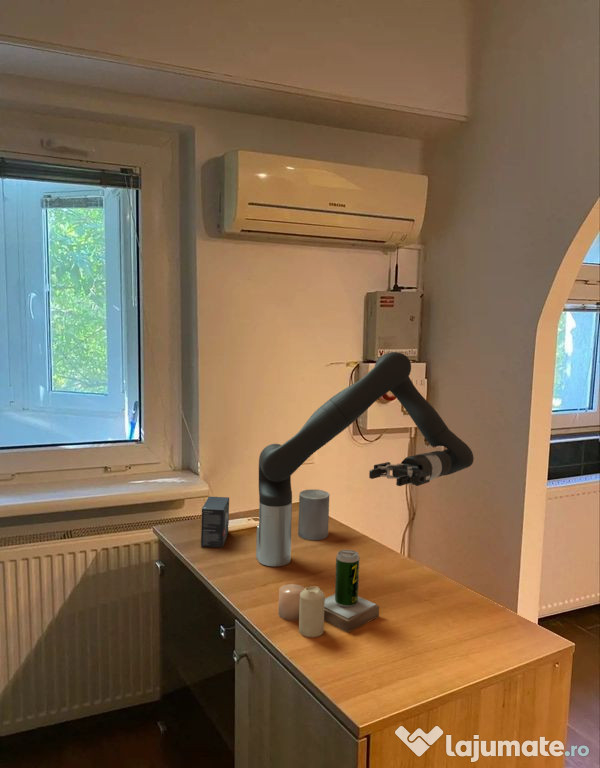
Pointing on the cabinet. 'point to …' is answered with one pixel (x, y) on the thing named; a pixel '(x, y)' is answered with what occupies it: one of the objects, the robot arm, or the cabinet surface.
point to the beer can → (347, 578)
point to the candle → (311, 612)
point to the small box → (215, 522)
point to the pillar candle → (313, 514)
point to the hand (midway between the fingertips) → (383, 478)
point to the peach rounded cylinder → (289, 601)
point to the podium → (349, 613)
